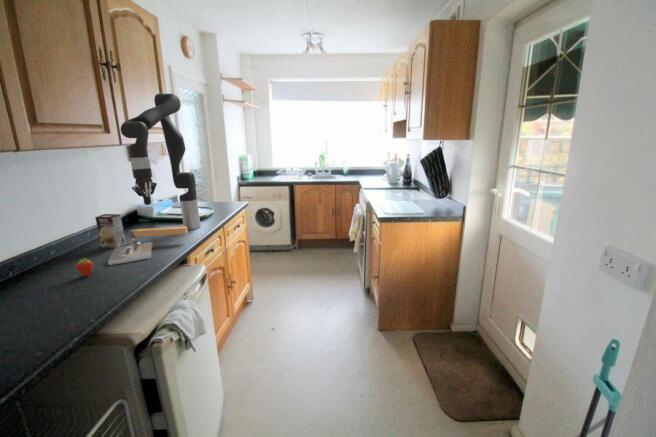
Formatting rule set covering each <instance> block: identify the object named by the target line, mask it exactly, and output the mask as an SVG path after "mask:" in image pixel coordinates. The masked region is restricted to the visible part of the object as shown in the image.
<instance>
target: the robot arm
mask: <svg viewBox="0 0 656 437" xmlns="http://www.w3.org/2000/svg"><path fill="white" fill-rule="evenodd" d="M154 105H155V106H154V107H151V108H148V109H146V110H144V111H142V112H141V113H139V115H137V116H135V117H132V118H129V119H127V120H125V121H124V122H123V123H122V124H121V126H120V134H122V136H123V137H125V138H127V139H135V143H131V144H130V145H128V150H129V151H128V153H129V156H130V157H129V158H130V164H131V166H130V167H131V171H132V176H133V179H135V185H134V186H132V187H131V190H133V191H134V192H135V194H137V196H138V197H142V198H143V203H144V205H146V206H149V205H151V204H152V198H151V196H152V195H154V194H155V190H156V187H157V185H158V184H157V182H153V178H152V177H153V171H152V166H151V162H150V158H149V153H148V152H149V151H148V141H149V140H148V139H149V130H151V129H152V128H153V127H154V126H155V125H156V124H158V123H159V122H160V125H161V128H162V132H163V136H164V141H165V146H166V149H167V154H168V157H169V158H168V159H169V163H170V167H171V168H170V169H171V174H172V175H171V176H172V181H173V185H174V186H175V188H176V189H187V191H186V192H185V193H182V194H180V195H179V197H178V198H179V205H180V209H181V217H182V224H183V227H187V230H191V231H192V230H196V229H200V228H201V219H200V213H199V212H200V211H199V205H198V200H197V199H198V197H197V187H196V177H195V174H194V173H193V172H190V171H189V172H188V171H187V172H182V171H181V170H180V165H181V161H182V160H183V158H184V156H185V152H186V144H185V139H184V136H183V135H182V133H181V132H180V131H179V129H178V128H177V127H176V126H175V124H174V123H173V121H172V120H171V117H170V116H171V115H173V114H175V113H177V112H180V110H181V106H182V104H181V99H180V97H179V96H178V95H177V94H175V93H156V94H155V96H154Z"/></svg>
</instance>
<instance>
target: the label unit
mask: <svg viewBox="0 0 656 437" xmlns="http://www.w3.org/2000/svg"><path fill="white" fill-rule="evenodd" d="M153 247H154V246H153V242H145V243H141V244H137V245H131V246H130V245H123V246H120V247H117V248H114V247H113V248H114V249H113V250H112V253H111V254H110V256H109V258H108V260H107V263H108V266H113V265H119V264H125V263H131V262H137V261H141V260H143V261H144V260H149V259H151V258H152V253H153V252H152V251H153Z"/></svg>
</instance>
